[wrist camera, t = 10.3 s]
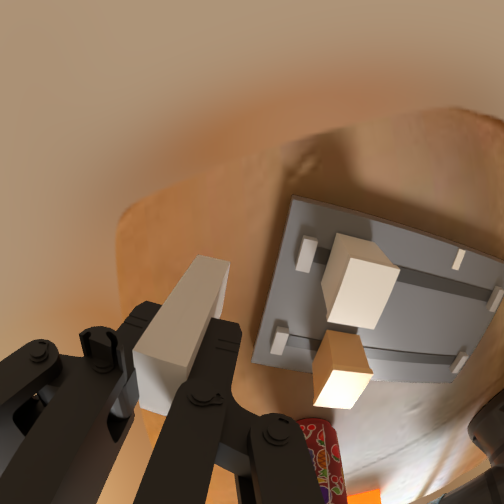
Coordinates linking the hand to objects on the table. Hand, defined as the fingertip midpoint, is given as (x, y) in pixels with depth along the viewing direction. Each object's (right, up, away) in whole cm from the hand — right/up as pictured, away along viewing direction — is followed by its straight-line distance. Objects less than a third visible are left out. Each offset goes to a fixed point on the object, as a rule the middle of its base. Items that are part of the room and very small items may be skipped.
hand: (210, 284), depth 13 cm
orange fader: (+9, -7, +10) cm, 15 cm away
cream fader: (+9, +1, +7) cm, 11 cm away
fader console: (+15, -4, +10) cm, 19 cm away
